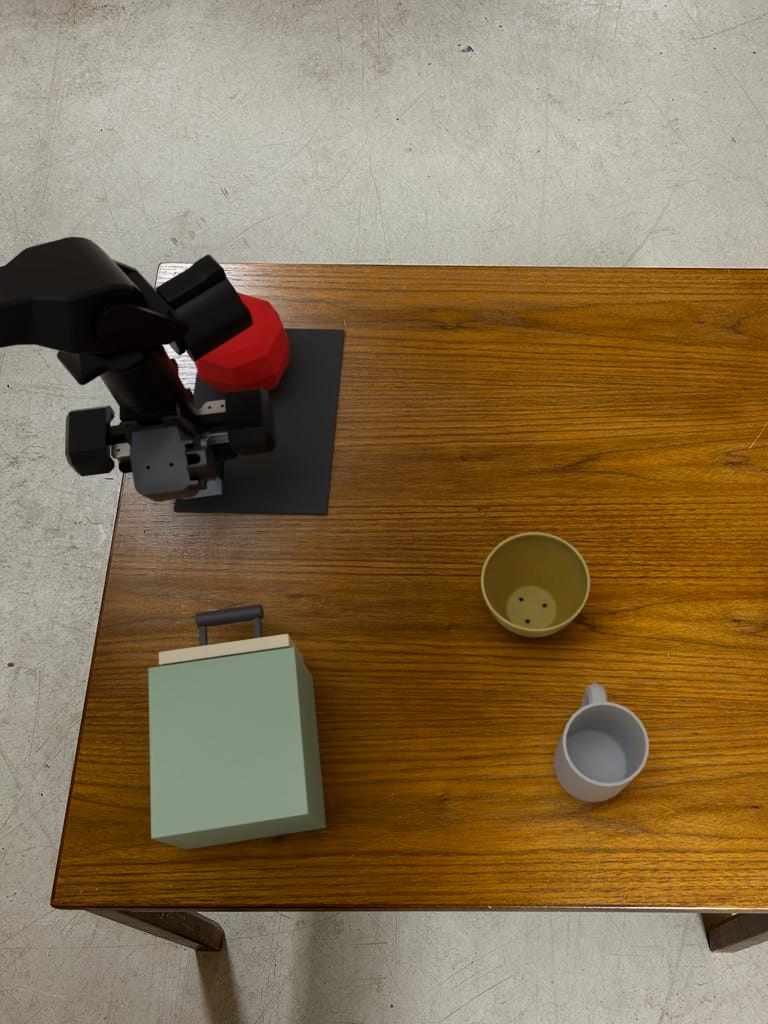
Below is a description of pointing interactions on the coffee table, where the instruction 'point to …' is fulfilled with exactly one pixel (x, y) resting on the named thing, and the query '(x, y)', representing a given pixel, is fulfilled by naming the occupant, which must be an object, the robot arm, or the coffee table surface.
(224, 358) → the apple
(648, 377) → the coffee table surface
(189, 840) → the cabinet
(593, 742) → the cup
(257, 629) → the drawer
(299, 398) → the mat
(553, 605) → the flower pot
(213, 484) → the block
